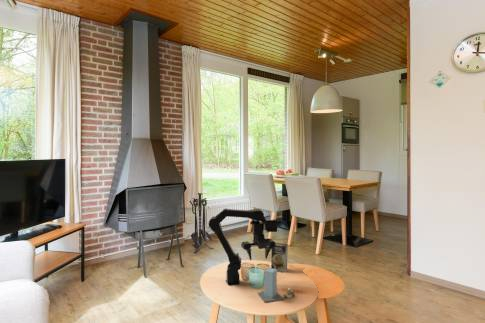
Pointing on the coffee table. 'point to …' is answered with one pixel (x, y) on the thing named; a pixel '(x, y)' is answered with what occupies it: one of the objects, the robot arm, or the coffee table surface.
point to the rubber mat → (267, 299)
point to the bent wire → (289, 293)
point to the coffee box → (279, 257)
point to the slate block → (270, 282)
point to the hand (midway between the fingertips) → (258, 259)
